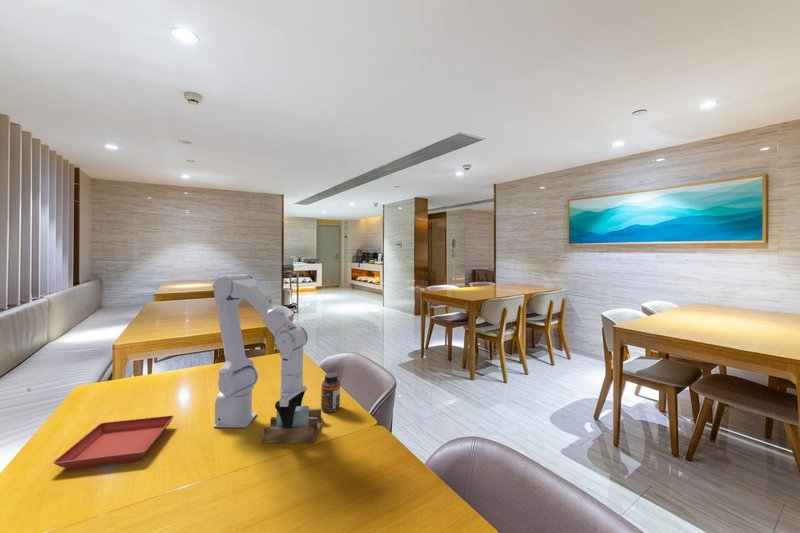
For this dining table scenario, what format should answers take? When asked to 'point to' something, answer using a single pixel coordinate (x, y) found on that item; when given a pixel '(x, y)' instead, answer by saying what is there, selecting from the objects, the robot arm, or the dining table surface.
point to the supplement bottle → (330, 393)
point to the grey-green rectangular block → (297, 417)
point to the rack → (294, 430)
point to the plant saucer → (114, 442)
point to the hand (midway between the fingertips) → (291, 420)
